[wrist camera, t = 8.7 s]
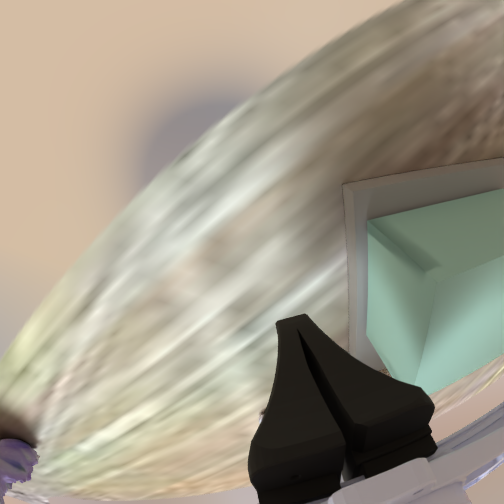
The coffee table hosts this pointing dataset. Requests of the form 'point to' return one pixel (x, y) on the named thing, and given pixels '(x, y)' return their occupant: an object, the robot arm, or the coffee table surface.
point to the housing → (437, 289)
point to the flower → (15, 463)
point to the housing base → (391, 202)
